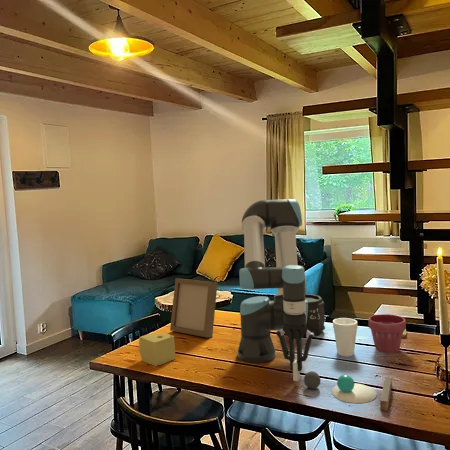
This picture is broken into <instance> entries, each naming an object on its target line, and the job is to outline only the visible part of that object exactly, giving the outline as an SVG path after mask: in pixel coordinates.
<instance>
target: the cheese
mask: <svg viewBox="0 0 450 450" xmlns="http://www.w3.org/2000/svg"><path fill="white" fill-rule="evenodd" d="M138 340H139V341H138V343H139V344H138V346H139V353H140V357H141V361H142V362H144V363H146V364H149V365H151V364H152V365H151V366H154V367H158V365H159V366H161V365H163V364H166V363H169V362H171V360H172V361H174V359H175V360H176V348H175V347H176V345H175V336H174V335H173V334H169V333H167V332H163V333H150V334H144V335H142V336H139V338H138Z"/></svg>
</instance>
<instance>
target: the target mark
mask: <svg viewBox="0 0 450 450" xmlns="http://www.w3.org/2000/svg"><path fill="white" fill-rule="evenodd" d="M331 393H332V396H333V397H334V398H336V399H337V400H340V401H342V402H345V403H350V404H352V403H353V404H364V403H365V404H366V403H370V402H371V401H373V400H375V399H376V398H377V395H378V394H377V391H376V390H375V389H374V388H372V387H370V386H368V385H365V384H362V383H356V382H354V388H353V390H352V391H350V392H347V393H346V392H342V391H341V390H340V389H339V388H338V386H337V384H336V385H335V386H333V387H332V389H331Z"/></svg>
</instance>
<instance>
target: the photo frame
mask: <svg viewBox="0 0 450 450" xmlns="http://www.w3.org/2000/svg"><path fill="white" fill-rule="evenodd" d="M174 281H175V282H174V290H173V298H172V299H173V300H172V309H171V318H170V319H171V320H170V327H169V330H170V331H172V332H175V333H176V332H177V333H182V334H187V335H193V336H196V337H202V338H213V333H214V323H215V313H216V312H215V311H216V302H217V293H218V292H217V291H218V282H213V281H206V280H205V281H204V280H195V279H186V278H176V277H175V280H174Z"/></svg>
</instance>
